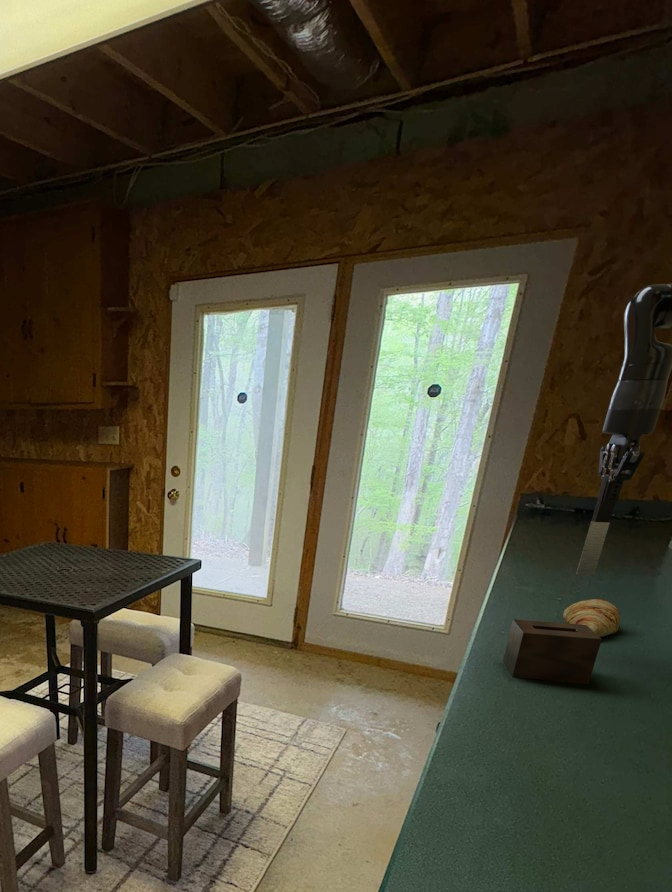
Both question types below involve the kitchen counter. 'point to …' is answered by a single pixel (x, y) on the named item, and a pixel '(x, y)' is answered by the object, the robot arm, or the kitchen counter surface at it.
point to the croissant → (594, 616)
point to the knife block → (551, 651)
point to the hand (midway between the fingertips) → (606, 500)
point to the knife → (596, 533)
